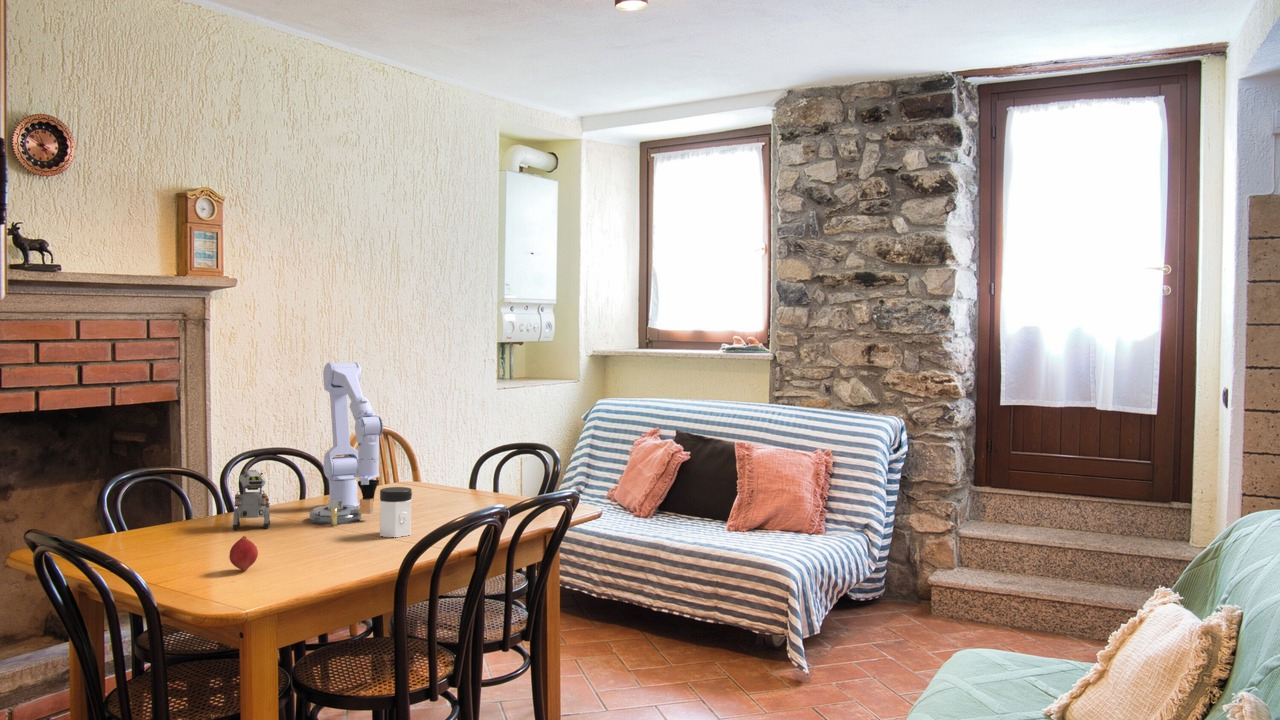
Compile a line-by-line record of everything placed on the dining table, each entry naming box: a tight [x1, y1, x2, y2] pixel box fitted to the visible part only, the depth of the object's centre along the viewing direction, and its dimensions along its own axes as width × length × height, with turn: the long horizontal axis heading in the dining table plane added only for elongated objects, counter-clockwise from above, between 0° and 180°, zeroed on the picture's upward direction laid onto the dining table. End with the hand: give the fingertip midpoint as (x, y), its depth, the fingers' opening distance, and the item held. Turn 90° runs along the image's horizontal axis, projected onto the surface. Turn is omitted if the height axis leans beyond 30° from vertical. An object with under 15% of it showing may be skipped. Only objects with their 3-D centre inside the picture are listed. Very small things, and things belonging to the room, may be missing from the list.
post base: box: [308, 499, 362, 525], centre depth 259 cm, size 14×14×6 cm
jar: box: [379, 486, 413, 539], centre depth 242 cm, size 9×8×12 cm
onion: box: [228, 534, 259, 572], centre depth 203 cm, size 6×6×8 cm
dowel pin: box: [330, 508, 338, 527], centre depth 251 cm, size 2×2×5 cm
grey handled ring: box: [312, 497, 374, 516], centre depth 259 cm, size 16×12×4 cm
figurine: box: [232, 469, 271, 531], centre depth 248 cm, size 9×12×15 cm
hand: (368, 505), depth 261 cm, fingers closed, pressing on grey handled ring
